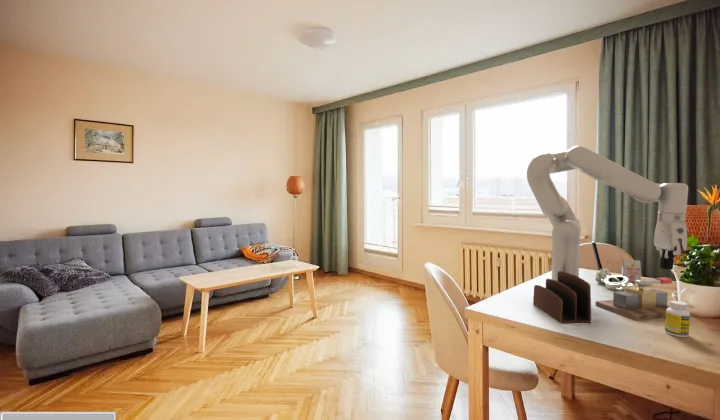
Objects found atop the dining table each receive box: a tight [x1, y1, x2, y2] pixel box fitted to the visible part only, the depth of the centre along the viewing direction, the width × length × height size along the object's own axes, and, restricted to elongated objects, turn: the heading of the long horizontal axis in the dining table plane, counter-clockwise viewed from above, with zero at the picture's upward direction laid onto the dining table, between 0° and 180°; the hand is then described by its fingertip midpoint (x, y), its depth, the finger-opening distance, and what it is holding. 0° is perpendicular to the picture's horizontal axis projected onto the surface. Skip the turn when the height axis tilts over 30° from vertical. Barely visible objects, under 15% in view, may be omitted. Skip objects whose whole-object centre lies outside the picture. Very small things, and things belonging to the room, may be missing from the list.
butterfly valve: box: [591, 241, 634, 292], centre depth 159 cm, size 9×20×17 cm
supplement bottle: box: [664, 300, 691, 338], centre depth 108 cm, size 5×5×10 cm
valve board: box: [595, 299, 671, 321], centre depth 130 cm, size 22×16×2 cm
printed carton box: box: [620, 259, 642, 283], centre depth 170 cm, size 4×7×10 cm, turn 64°
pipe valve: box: [612, 285, 669, 310], centre depth 129 cm, size 18×6×8 cm, turn 102°
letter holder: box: [532, 271, 592, 324], centre depth 127 cm, size 10×20×14 cm, turn 179°
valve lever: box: [634, 276, 673, 287], centre depth 131 cm, size 15×3×2 cm, turn 104°
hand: (666, 268), depth 128 cm, fingers closed
